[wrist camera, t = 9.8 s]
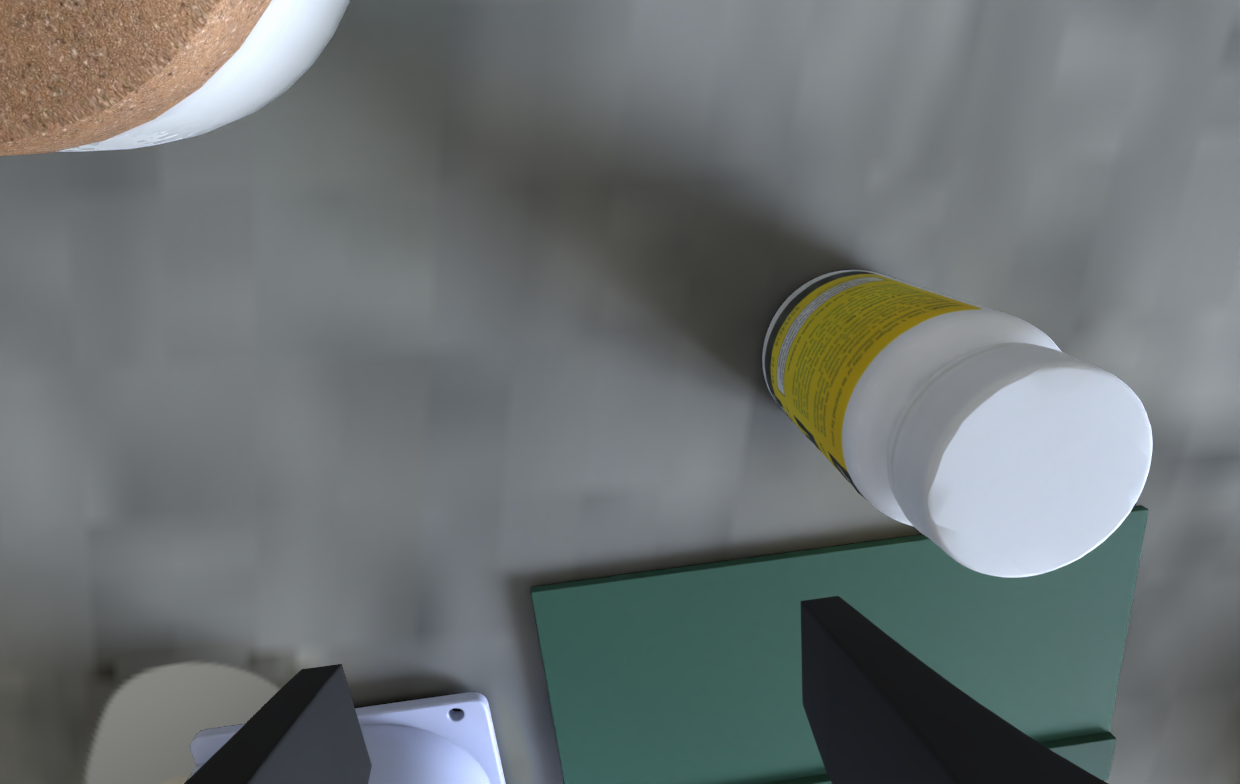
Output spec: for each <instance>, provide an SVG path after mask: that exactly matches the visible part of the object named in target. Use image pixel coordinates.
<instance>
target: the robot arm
mask: <svg viewBox="0 0 1240 784" xmlns="http://www.w3.org/2000/svg"><path fill="white" fill-rule="evenodd" d="M801 653H802V704H803V707H804V710H805V713H806V715H807V718H808V721H809V724H810V727H811V730H812V733H813V736H814V739H815V742H816V744H817V747H818V750H819V753H820V755H821V758H822V761H823V764H824V766H825V769H826V771H827V773H828V776H829V778H830V780H831V782H832V784H1108V783H1106V782H1104V781H1102V780H1101V779H1099V778H1097V777H1096V776H1094V775H1092V774H1091V773H1089V772H1087V771H1085V770H1084V769H1082V768H1080V767H1079V766H1077V765H1075V764H1074V763H1072V762H1070V761H1068V760H1067V759H1065V758H1063V757H1062V756H1060V755H1058V754H1057V753H1055V752H1053V751H1052V750H1050V749H1048V748H1047V747H1045V746H1044V745H1042V744H1040V743H1039V742H1037V741H1036V740H1034V739H1032V738H1031V737H1029V736H1028V735H1026V734H1025V733H1023V732H1022V731H1020V730H1019V729H1017V728H1016V727H1014V726H1013V725H1011V724H1010V723H1008V722H1007V721H1005V720H1004V719H1002V718H1001V717H999V716H998V715H996V714H995V713H993V712H992V711H990V710H989V709H987V708H986V707H984V706H983V705H981V704H980V703H978V702H977V701H976V700H974V699H973V698H971V697H970V696H968V695H967V694H966V693H964V692H963V691H961V690H960V689H959V688H957V687H956V686H954V685H953V684H952V683H950V682H949V681H947V680H946V679H945V678H943V677H942V676H941V675H939V674H938V673H937V672H935V671H934V670H933V669H931V668H930V667H929V666H927V665H926V664H925V663H923V662H922V661H921V660H919V659H918V658H917V657H915V656H914V655H913V654H911V653H910V652H909V651H908V650H906V649H905V648H904V647H902V646H901V645H900V644H899V643H897V642H896V641H895V640H894V639H892V638H891V637H890V636H888V635H887V634H886V633H885V632H883V631H882V630H881V629H880V628H878V627H877V626H876V625H875V624H873V623H872V622H871V621H870V620H868V619H867V618H866V617H865V616H863V615H862V614H861V613H860V612H858V611H857V610H856V609H855V608H853V607H852V606H851V605H849V604H848V603H847V602H846V601H844V600H843V599H842V598H841V597H839V596H833V597H826V598H819V599H812V600H804V601H801ZM453 708H459V709H461V710H462V711H460V712H458V711H454V710H452V709H453ZM190 751H191V753H192V756H193V758H194V761H195V763H196V767H195V769H194V770H193V772H192V774H191V775H190V777H189V778H188V780H187V781H186V782H185V783H184V784H506V783H505V779H504V774H503V769H502V765H501V760H500V755H499V751H498V746H497V741H496V737H495V732H494V727H493V723H492V718H491V713H490V709H489V704H488V701H487V699H486V697H485V696H483V695H482V694H480V693H477V692H468V693H461V694H453V695H446V696H439V697H432V698H425V699H418V700H411V701H403V702H396V703H389V704H382V705H375V706H368V707H361V708H355V707H354V704H353V701H352V697H351V694H350V690H349V687H348V684H347V680H346V677H345V674H344V670H343V667H342V664H339V665H331V666H324V667H317V668H309V669H302V670H301V671H300V672H299V673H298V674H296V675H295V676H294V677H293V678H292V679H291V680H290V681H289V682H288V683H287V684H286V685H284V686H283V687H282V688H281V689H280V690H279V691H278V692H277V693H276V694H275V695H274V696H273V697H272V698H271V699H270V700H269V701H268V702H267V703H266V704H265V705H264V706H263V707H262V708H261V709H260V710H259V711H258V712H257V713H256V714H255V715H254V716H253V717H252V718H251V719H250V720H249V721H248V722H247V723H246V724H239V725H232V726H225V727H218V728H211V729H205V730H202V731H200V732H199V733H198V734H197V735H196V736H195V737H194V739H193V741H192V742H191V744H190Z"/></svg>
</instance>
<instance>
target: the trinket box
mask: <svg viewBox="0 0 1240 784" xmlns="http://www.w3.org/2000/svg"><path fill="white" fill-rule="evenodd" d="M349 2H350V0H0V156H10V155H29V154H45V153H52V152H83V151H102V150H120V149H134V148H140V147H146V146H152V145H159V144H164V143H168V142H172V141H177V140H181V139H185V138H190V137H194V136H199V135H202V134H205V133H207V132H210V131H212V130H214V129H217V128H219V127H222V126H224V125H226V124H229V123H231V122H233V121H236V120H238V119H240V118H243V117H245V116H248V115H250V114H252V113H254V112H256V111H257V110H259V109H260V108H262V107H263V106H265V105H266V104H268V103H269V102H271V101H272V100H274V99H275V98H277V97H278V96H280V95H281V94H283V93H284V92H286V91H287V90H288V89H289V88H290V87H291V86H292V85H293V84H294V83H295V82H296V81H297V80H298V79H299V78H300V77H301V76H302V75H303V74H304V73H305V72H306V71H307V70H308V69H309V68H310V67H311V66H312V65H313V64H314V62H315V61H316V59H317V58H318V57H319V55H320V54H321V52H322V51H323V49H324V48H325V47H326V45H327V44H328V42H329V41H330V39H331V38H332V37H333V35H334V34H335V32H336V29H337V27H338V25H339V23H340V21H341V19H342V17H343V15H344V13H345V10H346V8H347V6H348V4H349Z"/></svg>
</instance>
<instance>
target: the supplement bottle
mask: <svg viewBox="0 0 1240 784" xmlns="http://www.w3.org/2000/svg"><path fill="white" fill-rule="evenodd" d="M762 365H763V372H764V377H765V381H766V384H767V387H768V389H769V391H770V393H771V395H772V397H773V399H774V400H775V402H776V403H777V404H778V405H779V407H780V408H781V409H782V410H783V411H784V413H785V414H786V415H787V416H788V417H789V418H790V419H791V420H792V421H793V422H794V423H795V424H796V425H797V426H798V427H799V428H800V430H801V431H802V432H803V433H804V434H805V435H806V436H807V437H808V438H809V439H810V440H811V441H812V442H813V443H814V445H815V446H816V447H817V448H818V449H819V450H820V451H821V452H822V453H823V454H824V456H825V457H826V458H827V459H828V460H829V461H830V462H831V463H832V464H833V465H834V466H835V467H836V468H837V469H838V471H839V472H840V473H841V474H842V475H843V476H844V477H845V478H846V480H847V481H848V482H850V483H851V484H852V486H853V487H854V488H855V489H856V491H857V492H858V493H859V494H860V495H862V496H863V497H864V498H865V499H866V500H867V501H868V502H870V503H871V504H872V505H873V506H874V507H875V508H877V509H878V510H879V511H881V512H882V513H884V514H885V515H887V516H889V517H891V518H892V519H894V520H897V521H899V522H901V523H904V524H907V525H910V526H914V527H915V528H916V529H917V530H918V531H919V532H920V533H922V534H923V535H925V536H926V537H928V538H929V539H931V540H932V541H933V542H934V543H935V544H936V545H937V546H939V547H940V548H941V549H942V550H943V551H944V552H945V553H947V554H948V555H949V556H950V557H952V558H953V559H954V560H955V561H957V562H958V563H960V564H962V565H963V566H965V567H967V568H969V569H972V570H974V571H977V572H980V573H983V574H987V575H992V576H998V577H1009V578H1015V577H1028V576H1034V575H1039V574H1043V573H1047V572H1050V571H1053V570H1056V569H1058V568H1061V567H1063V566H1066V565H1068V564H1070V563H1072V562H1074V561H1076V560H1078V559H1080V558H1081V557H1083V556H1084V555H1086V554H1087V553H1089V552H1090V551H1092V550H1093V549H1095V548H1096V547H1097V546H1099V545H1100V544H1101V543H1103V542H1104V541H1105V540H1106V539H1107V538H1108V537H1109V536H1110V535H1111V534H1112V533H1113V532H1114V531H1115V530H1116V529H1117V528H1118V527H1119V526H1120V525H1121V523H1122V522H1123V521H1124V520H1125V518H1126V517H1127V516H1128V514H1129V513H1130V512H1131V510H1132V508H1133V507H1134V505H1135V503H1136V502H1137V500H1138V498H1139V496H1140V494H1141V492H1142V489H1143V487H1144V484H1145V482H1146V479H1147V475H1148V472H1149V468H1150V464H1151V457H1152V431H1151V426H1150V422H1149V419H1148V416H1147V413H1146V411H1145V409H1144V407H1143V405H1142V403H1141V401H1140V399H1139V398H1138V397H1137V395H1136V394H1135V393H1134V392H1133V391H1132V389H1131V388H1130V387H1128V386H1127V385H1126V384H1125V383H1124V382H1123V381H1121V380H1120V379H1119V378H1117V377H1116V376H1115V375H1113V374H1111V373H1109V372H1107V371H1105V370H1103V369H1101V368H1099V367H1097V366H1094V365H1092V364H1089V363H1087V362H1084V361H1082V360H1079V359H1077V358H1074V357H1072V356H1069V355H1067V354H1066V353H1063V352H1061V350H1060V349H1059V348H1058V347H1057V345H1056V344H1055V343H1054V342H1053V341H1052V340H1051V339H1050V338H1049V337H1048V336H1047V335H1046V334H1045V333H1044V332H1042V331H1041V330H1039V329H1038V328H1036V327H1035V326H1033V325H1032V324H1030V323H1028V322H1026V321H1024V320H1022V319H1020V318H1018V317H1015V316H1013V315H1010V314H1007V313H1004V312H1001V311H998V310H995V309H991V308H988V307H985V306H981V305H978V304H975V303H971V302H968V301H965V300H961V299H958V298H955V297H951V296H948V295H945V294H942V293H939V292H935V291H932V290H929V289H926V288H923V287H920V286H917V285H913V284H910V283H907V282H904V281H901V280H898V279H896V278H893V277H888V276H886V275H883V274H879V273H876V272H871V271H865V270H842V271H836V272H831V273H828V274H825V275H822V276H819V277H817V278H815V279H813V280H811V281H809V282H807V283H806V284H804V285H803V286H801V287H800V288H799V289H797V290H796V291H795V292H794V293H792V294H791V295H790V296H789V297H788V298H787V299H786V300H785V302H784V303H783V304H782V305H781V307H780V308H779V309H778V311H777V312H776V314H775V316H774V317H773V319H772V321H771V323H770V326H769V328H768V331H767V334H766V337H765V341H764V346H763V354H762Z"/></svg>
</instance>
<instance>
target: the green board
mask: <svg viewBox="0 0 1240 784" xmlns="http://www.w3.org/2000/svg"><path fill="white" fill-rule="evenodd" d="M1147 515H1148V509H1147V508H1145V507H1144V506H1142V505H1139V506H1134V507H1133V508H1132V510H1131V512H1130V513H1129V514H1128V516H1127V517H1126V518H1125V520H1124V521H1123V522H1122V523H1121V525H1120V526H1119V527H1118V528H1117V529H1116V530H1115V531H1114V532H1113V533H1112V534H1111V535H1110V536H1109V537H1108V538H1107V539H1106V540H1105V541H1104V542H1103V543H1101V544H1100V545H1099V546H1097V547H1096V548H1095V549H1093V550H1092V551H1090V552H1089V553H1087V554H1086V555H1084V556H1083V557H1081V558H1080V559H1078V560H1076V561H1074V562H1072V563H1070V564H1068V565H1066V566H1063V567H1061V568H1058V569H1056V570H1053V571H1050V572H1047V573H1043V574H1039V575H1034V576H1028V577H1015V578H1009V577H998V576H992V575H987V574H983V573H980V572H977V571H974V570H972V569H969V568H967V567H965V566H963V565H962V564H960V563H958V562H957V561H955V560H954V559H953V558H952V557H950V556H949V555H948V554H947V553H945V552H944V551H943V550H942V549H941V548H940V547H939V546H937V545H936V544H935V543H934V542H933V541H932V540H931V539H929V538H928V537H926V536H925V535H916V536H909V537H901V538H894V539H886V540H879V541H871V542H864V543H856V544H849V545H842V546H834V547H827V548H819V549H812V550H804V551H797V552H790V553H782V554H775V555H767V556H760V557H752V558H745V559H737V560H730V561H723V562H715V563H708V564H700V565H693V566H685V567H678V568H671V569H663V570H656V571H648V572H641V573H633V574H626V575H618V576H611V577H604V578H596V579H589V580H581V581H574V582H566V583H559V584H552V585H544V586H537V587H531V597H532V603H533V609H534V614H535V620H536V626H537V632H538V637H539V643H540V649H541V654H542V660H543V666H544V671H545V677H546V683H547V688H548V694H549V700H550V705H551V711H552V717H553V722H554V728H555V734H556V739H557V745H558V751H559V757H560V762H561V768H562V774H563V779H564V784H832V782H831V780H830V778H829V776H828V773H827V771H826V769H825V766H824V764H823V761H822V758H821V755H820V753H819V750H818V747H817V744H816V742H815V739H814V736H813V733H812V730H811V727H810V724H809V721H808V718H807V715H806V713H805V710H804V707H803V704H802V653H801V601H804V600H812V599H819V598H826V597H833V596H839V597H841V598H842V599H843V600H844V601H846V602H847V603H848V604H849V605H851V606H852V607H853V608H855V609H856V610H857V611H858V612H860V613H861V614H862V615H863V616H865V617H866V618H867V619H868V620H870V621H871V622H872V623H873V624H875V625H876V626H877V627H878V628H880V629H881V630H882V631H883V632H885V633H886V634H887V635H888V636H890V637H891V638H892V639H894V640H895V641H896V642H897V643H899V644H900V645H901V646H902V647H904V648H905V649H906V650H908V651H909V652H910V653H911V654H913V655H914V656H915V657H917V658H918V659H919V660H921V661H922V662H923V663H925V664H926V665H927V666H929V667H930V668H931V669H933V670H934V671H935V672H937V673H938V674H939V675H941V676H942V677H943V678H945V679H946V680H947V681H949V682H950V683H952V684H953V685H954V686H956V687H957V688H959V689H960V690H961V691H963V692H964V693H966V694H967V695H968V696H970V697H971V698H973V699H974V700H976V701H977V702H978V703H980V704H981V705H983V706H984V707H986V708H987V709H989V710H990V711H992V712H993V713H995V714H996V715H998V716H999V717H1001V718H1002V719H1004V720H1005V721H1007V722H1008V723H1010V724H1011V725H1013V726H1014V727H1016V728H1017V729H1019V730H1020V731H1022V732H1023V733H1025V734H1026V735H1028V736H1029V737H1031V738H1032V739H1034V740H1036V741H1037V742H1039V743H1040V744H1042V745H1044V746H1045V747H1047V748H1048V749H1050V750H1052V751H1053V752H1055V753H1057V754H1058V755H1060V756H1062V757H1063V758H1065V759H1067V760H1068V761H1070V762H1072V763H1074V764H1075V765H1077V766H1079V767H1080V768H1082V769H1084V770H1085V771H1087V772H1089V773H1091V774H1092V775H1094V776H1096V777H1097V778H1099V779H1101V780H1108V779H1109V776H1110V770H1111V765H1112V759H1113V753H1114V748H1115V742H1116V738H1115V737H1114V736H1113V735H1112V734H1111V733H1110V727H1111V721H1112V716H1113V710H1114V704H1115V698H1116V693H1117V687H1118V681H1119V676H1120V670H1121V664H1122V658H1123V653H1124V647H1125V641H1126V635H1127V630H1128V624H1129V618H1130V613H1131V607H1132V601H1133V595H1134V590H1135V584H1136V578H1137V572H1138V567H1139V561H1140V555H1141V549H1142V544H1143V538H1144V532H1145V527H1146V521H1147Z"/></svg>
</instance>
